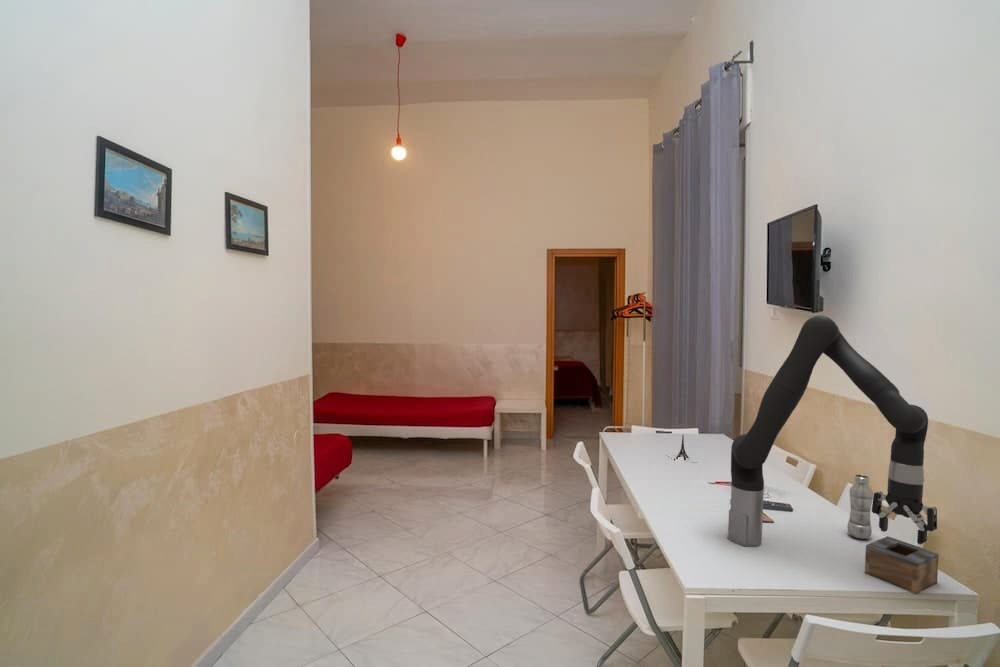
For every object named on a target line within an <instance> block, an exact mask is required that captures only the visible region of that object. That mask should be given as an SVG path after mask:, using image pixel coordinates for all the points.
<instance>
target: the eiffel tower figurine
mask: <svg viewBox="0 0 1000 667" xmlns="http://www.w3.org/2000/svg"><path fill="white" fill-rule="evenodd" d="M684 435H685V434H682V436H681V437H682V439H681V440H682V441H681V445H680V446H681V447H680V451H679V452H678V454H677V456H676V457H675V458H676V459H678V457H684V461H685V460H686V458H689V459H690V457H689V456H688V455H687V452H686V450H685V443H684V442H685V440H684V439H685V438H684V437H685V436H684Z"/></svg>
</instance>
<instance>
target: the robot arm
mask: <svg viewBox="0 0 1000 667" xmlns="http://www.w3.org/2000/svg"><path fill="white" fill-rule="evenodd" d="M822 354H824V355H825V356H827V357H828V358H829V359H830V360H832V361H833V362H834V363H835V364H836V365H837V366H838V367H839V368H840V369H841V370H842V372H844V373H845V375H846V376H847V377H848V378H849V379H850V381H852V383H853V384H854V385H855V386H856V387H857V388H858V389H859V390H860V391H861V392H862V394H864V395H865V396H866V397H867V398H868V399H869V400H870V401H871V402H872V403H873V404H874V405H875V406H876V407H877V409H878V410H879V412H880V413H881V414H882V415H883V417H884V418H885V420H886V421H887V422H888V423H889V424H890V425H891V426H892V427H893V428H895V433H894V434H895V435H894V439H893V441H892V442H891V447H890V448H891V449H890V461H889V465H888V474H887V475H888V476H887V489H886V490H887V494H884V493H883V492H882V491H876V492H873V500H872V504H871V513H873V514H876V515H877V516H878V517H879V521H878V522H879V523H878V528H879V529H880V531H881V532H887V531H888V527H889V517H888V516H889V515H891V514H892V513H894V514H895V515H898V516H902V517H904V518H908V519H909V518H910V519H911V520H912V522H913V523H915V525H916V527H917V528H918V530H917V540H916V542H917V544H919V545H923V544H924V543H926V542H927V540H928V532H934V531H936V530H937V529H938V509H937V508H936V506H931V507H930V506H927V505H924V504H923V493H924V482H925V478H924V477H925V472H924V459H925V451H924V450H925V448H924V447H925V442H926V437H927V432H928V428H929V427H928V426H929V417H928V413H927V412H926V411H925V410H924V408H922V407H920V406H918V405H916V404H910V403H909V402H908V401H907V400H905V398H904V397H903V396H902V395H901V394H900V390H899V389H898V387H897V386H896V385H895V384H894V383H893V382H892V381H891V380H890V379H888V377H886V375H884V374H883V373H882V372H881V371H880V370H879V369H877V367H875V365H873V364H872V363H871V362H869V361H868V360H867V359H866V358H864V357H863V356H862V355H861V354H860V353H859V352H857V351H856V350H855V349H854V348H853V346H852V345H851V344H850V343H849V342H848V341H847V339H846V338H845V336H844V335H843V334H842V333H841V330H840V329H839V326H838V325H837V323H835V321H834V320H833V319H832V318H831V317H829V316H825V315H814V316H812V317H810V318H808V319H807V320H806V321H805V322H804V323H803V325H802V326H801V329H800V331H799V333H798V336H797V337H796V339H795V342H794V345H793V347H792V349H791V351H790V352H789V355H788V356H787V357H786V359H785V360H784V362H783V363H782V365H781V366H780V368H779V369H778V370H777V372H776V374H775V376H773V378H772V379H771V382H770V384H769V385H768V386H767V388H766V390H765V392H764V393H763V396H762V399H761V402H760V405H759V408H758V411H757V414H756V418H755V420H754V422H753V424H752V425H751V427H750V429H749V431H748V432H747V433H745V434H744V433H743V434H740V435H738V436H736V437H735V438H734V439H733V441H732V443H731V451H730V452H731V454H730V477H731V482H730V483H731V484H730V487H731V488H730V490H731V491H730V509H729V510H728V523H727V524H728V525H727V528H728V529H727V539H728V540H730V541H732V542H734V543H737V544H738V545H741V546H743V547H758V546H760V545H762V541H763V540H762V539H763V523H762V520H763V513H764V496H765V494H764V485H765V480H764V472H763V465H764V464H765V463H766V461H767V459H768V457H769V454H770V452H771V450H772V447H773V445H774V443H775V440H776V439H777V437H778V435H779V433H780V432H781V431H782V429H783V427H784V426H785V425H786V423H787V422H788V420H789V418H790V417H791V416H792V413H793V412H794V410H795V409H796V407H797V406H798V405H799V403H800V401H801V399H802V398H803V396H804V394H805V392H806V389H807V387H808V385H809V382H810V380H811V376H812V374H813V370H814V367H815V366H816V364H817V362H818V361H819V359H820V358H821V356H822ZM884 501H886V503H887V504H888V505H887V507H886V508H884V509H883V510H882V505H883V502H884ZM922 511H924V512H923V513H924V514H925V515H926V521H925V518H924V517H923V515H922V514H921V512H922Z"/></svg>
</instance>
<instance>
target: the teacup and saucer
mask: <svg viewBox="0 0 1000 667" xmlns="http://www.w3.org/2000/svg"><path fill="white" fill-rule="evenodd" d="M766 488H767V490H766ZM767 492H768V493H769V487H768V486H766V484H764V495H765V494H766V493H767Z"/></svg>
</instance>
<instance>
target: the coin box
mask: <svg viewBox="0 0 1000 667" xmlns="http://www.w3.org/2000/svg"><path fill="white" fill-rule="evenodd" d="M939 554H940V553H938V552H936V551H932V550H929V549H926V548H923V547H921V546H917V545H915V544H912V543H908V542H905V541H903V540H901V539H897V538H894V537H891V536H885V537H882V538H879V539H878V540H875V541H872V542H869V543H868V544H866V545H865V556H864V558H865V559H864V560H865V561H864V574H866V575H868V576H871V577H873V578H875V579H878V580H880V581H883V582H885V583H888V584H890V585H893V586H895V587H898V588H900V589H903V590H905V591H907V592H910V593H912V594H915V595H917V594H919V593H921V592H923V591H925V590H926V589H929V587H931V586H933V585H935V584H937V583H938V574H939V573H938V572H939ZM922 590H923V591H922ZM920 591H921V592H920Z"/></svg>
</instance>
